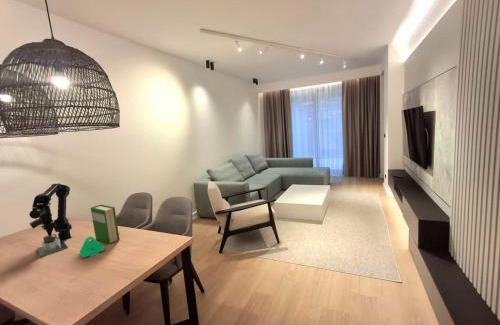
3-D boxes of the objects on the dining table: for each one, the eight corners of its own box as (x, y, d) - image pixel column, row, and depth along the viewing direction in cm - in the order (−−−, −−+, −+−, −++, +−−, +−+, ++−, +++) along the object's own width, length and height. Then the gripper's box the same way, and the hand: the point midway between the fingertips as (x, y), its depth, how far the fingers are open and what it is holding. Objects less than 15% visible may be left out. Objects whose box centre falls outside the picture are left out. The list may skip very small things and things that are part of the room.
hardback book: (119, 240, 170) (114, 207, 167) (108, 244, 164) (103, 210, 161) (106, 235, 180) (101, 204, 177) (96, 239, 174) (90, 207, 171)
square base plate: (62, 241, 175) (60, 233, 174) (67, 247, 164) (66, 239, 163) (36, 249, 165) (35, 241, 164) (40, 257, 154) (39, 248, 153)
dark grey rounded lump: (56, 240, 169) (55, 233, 168) (58, 243, 164) (57, 235, 163) (43, 244, 164) (42, 236, 163) (45, 247, 159) (44, 239, 158)
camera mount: (83, 259, 147) (80, 243, 146) (80, 255, 152) (77, 240, 151) (105, 251, 156) (102, 236, 154) (101, 248, 161) (99, 233, 159)
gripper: (27, 214, 161) (31, 237, 163) (31, 220, 149) (36, 244, 151) (48, 209, 169) (52, 231, 172) (54, 214, 157) (58, 237, 159)
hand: (49, 235), depth 163 cm, fingers closed
